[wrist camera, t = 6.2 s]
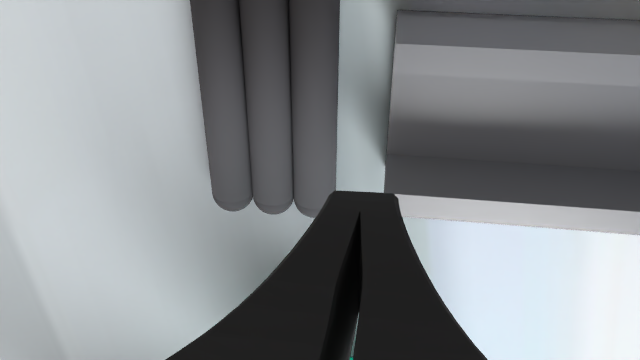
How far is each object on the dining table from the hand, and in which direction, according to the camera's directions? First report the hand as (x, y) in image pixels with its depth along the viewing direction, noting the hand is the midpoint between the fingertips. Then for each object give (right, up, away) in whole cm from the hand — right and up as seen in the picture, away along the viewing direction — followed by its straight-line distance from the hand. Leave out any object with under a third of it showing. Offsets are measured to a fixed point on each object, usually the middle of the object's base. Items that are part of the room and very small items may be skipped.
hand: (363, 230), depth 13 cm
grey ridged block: (-3, +4, +8) cm, 9 cm away
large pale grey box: (+9, +4, +8) cm, 12 cm away
